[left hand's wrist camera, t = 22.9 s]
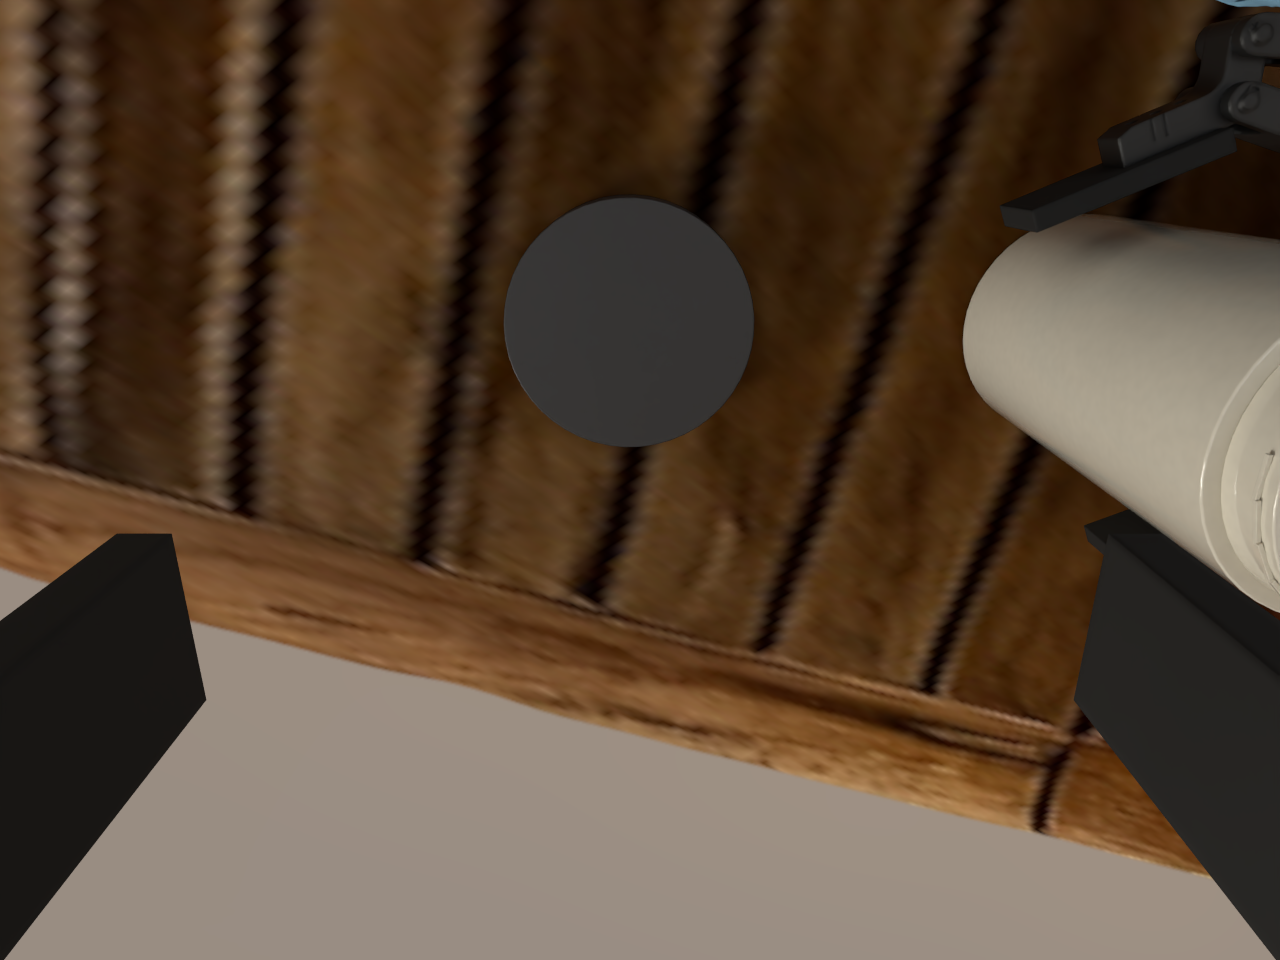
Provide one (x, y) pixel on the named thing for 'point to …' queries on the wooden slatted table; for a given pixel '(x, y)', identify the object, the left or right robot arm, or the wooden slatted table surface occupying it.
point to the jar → (1147, 375)
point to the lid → (629, 321)
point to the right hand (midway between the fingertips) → (1061, 394)
